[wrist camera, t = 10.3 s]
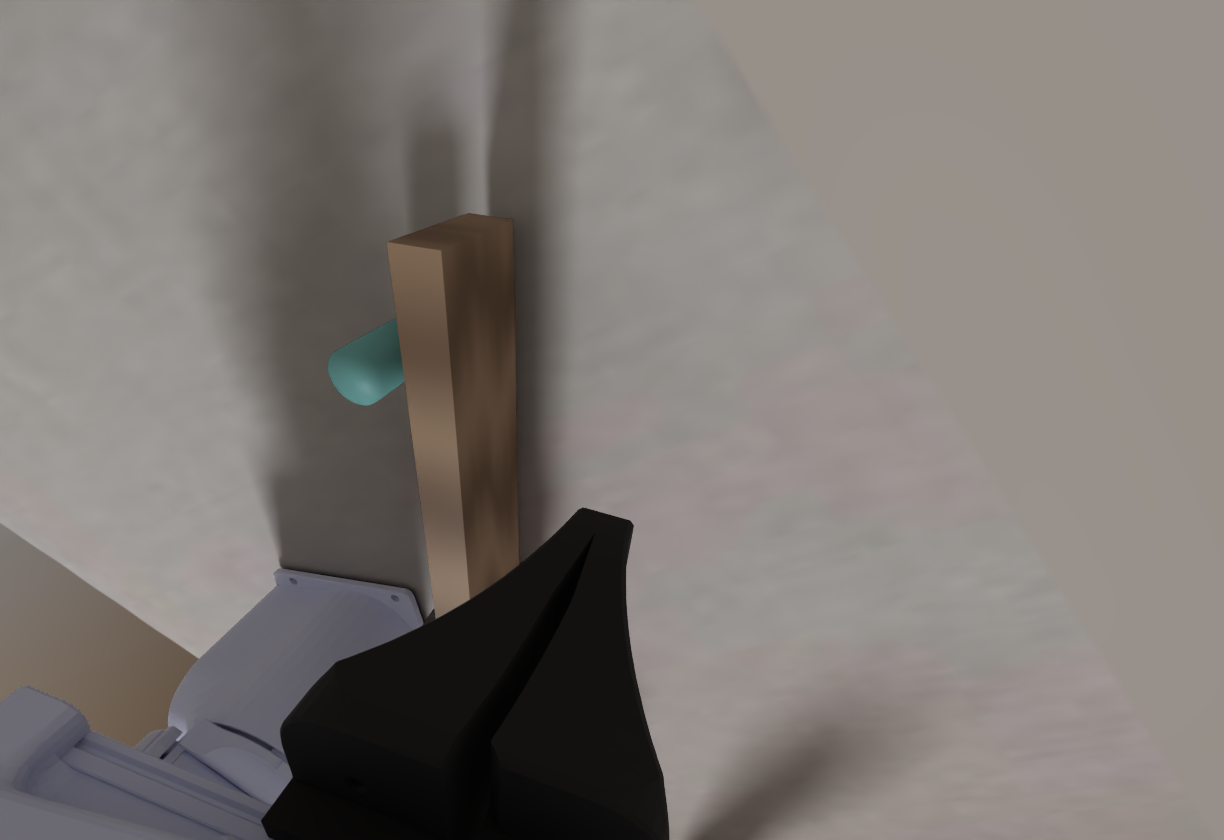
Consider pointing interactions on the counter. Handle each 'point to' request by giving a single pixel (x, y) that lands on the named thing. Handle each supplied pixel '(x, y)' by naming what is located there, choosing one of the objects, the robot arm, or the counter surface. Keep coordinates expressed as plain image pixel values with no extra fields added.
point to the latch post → (368, 365)
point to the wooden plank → (461, 396)
